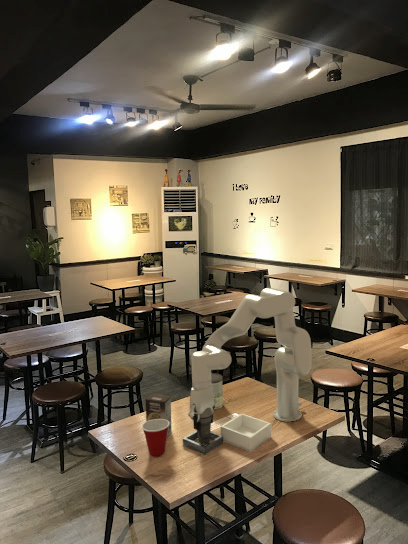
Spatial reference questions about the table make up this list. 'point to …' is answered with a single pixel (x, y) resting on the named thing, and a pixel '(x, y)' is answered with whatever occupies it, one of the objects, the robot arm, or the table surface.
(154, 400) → the coffee box
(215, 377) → the coffee can
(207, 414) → the beverage cup
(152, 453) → the plastic cup
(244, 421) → the bin
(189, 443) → the holder
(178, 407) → the table surface
